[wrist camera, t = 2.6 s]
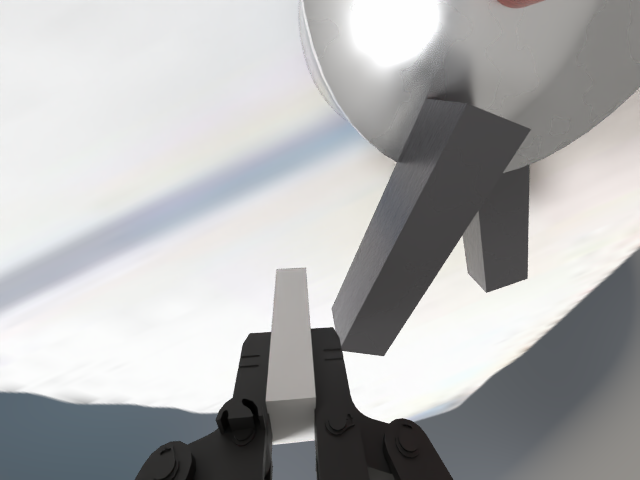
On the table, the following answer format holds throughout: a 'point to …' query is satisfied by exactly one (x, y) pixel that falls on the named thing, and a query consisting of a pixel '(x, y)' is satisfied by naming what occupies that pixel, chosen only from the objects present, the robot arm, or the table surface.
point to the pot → (491, 219)
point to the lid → (457, 119)
